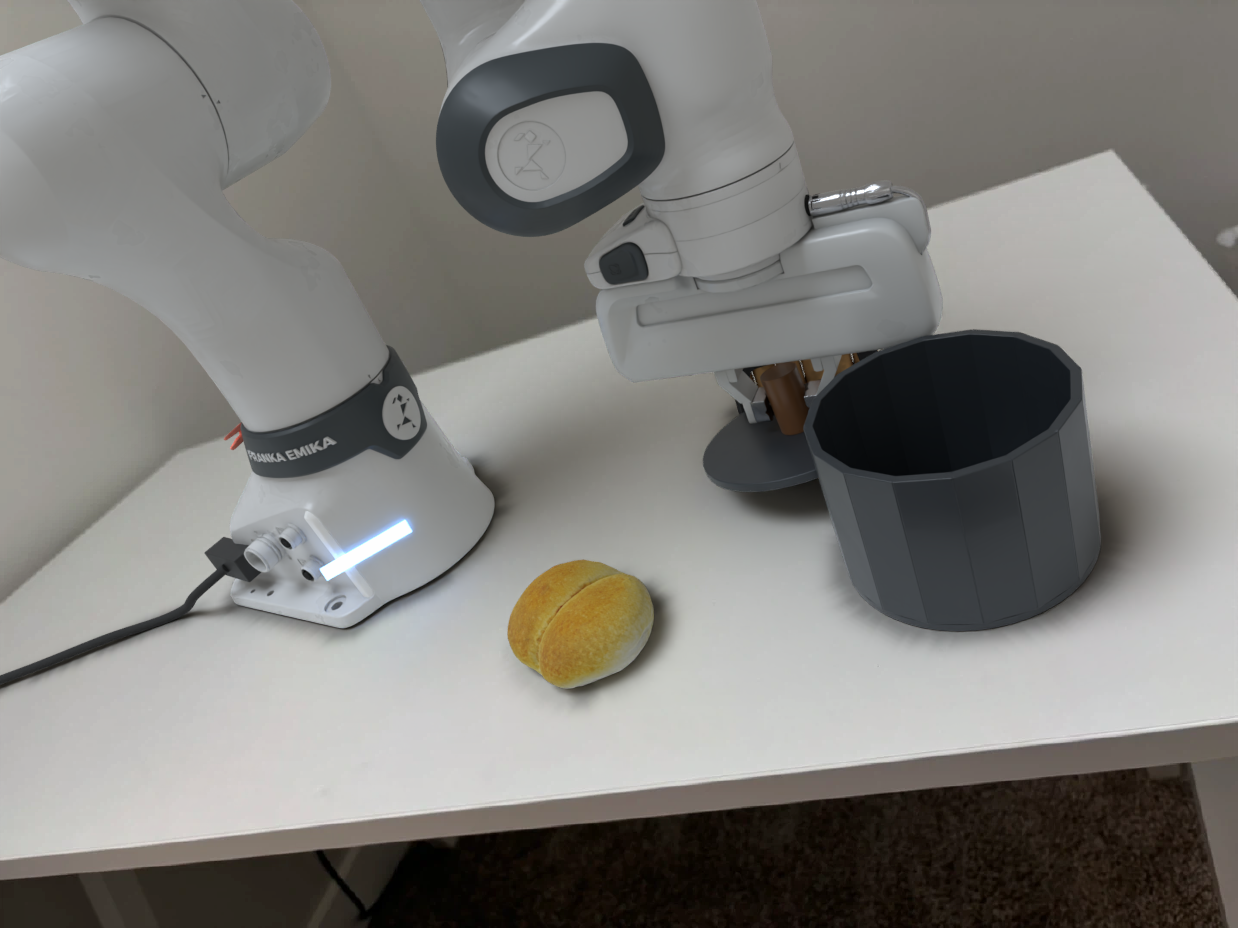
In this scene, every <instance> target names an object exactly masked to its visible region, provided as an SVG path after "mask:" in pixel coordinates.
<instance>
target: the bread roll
mask: <svg viewBox="0 0 1238 928" xmlns="http://www.w3.org/2000/svg"><path fill="white" fill-rule="evenodd" d="M654 609H655V607H654V605H653V602H652V597H651V594H650V593H649V591H648V588H647V586H646V585H645V584H644V583H643V581H642V580H640V578H638V577H636V576H634V575H632V574H628V573H625V572H623V571H621V570H619V569H616V568H615V567H612V566H610V565H608V564H606V563H603V562H601V561H595V560H594V561H593V560H588V559H575V560H572V561H567V562H562V563H558V564H556V565H553V566H552V567H551V568H549V569H547V570H545V571H544V572H542V573H541V574H539V575H538V576H537V577H535V578H534V579H533V580H532V581H531V582H530V584H528V586H527V587H526V588H525V589H524V590H523V592H522V594H521V595H520V596H519V598H518V599H517V601H516V603H515V604H514V606H513V608H512V609H511V613H510V615H509V619H508V623H507V640H508V644H509V646H510V649H511V651H512V653H513V655H514V656H515V658H516V659H517V660H518V661H519V662H520V663H521V664H523V665H524V666H526V667H528V668H529V669H531V670H534V671H535V672H536V673H538V674H539V675H540V676H541V677H543V679H544V680H545V682H547V683H549V684H551V685H552V686H554V687H557V688H560V689H566V690H567V689H569V690H570V689H574V688H577V687H583V686H586V685H589V684H592V683H594V682H597V681H599V680H602V679H604V678H607V677H609V676H611V675H614V674H616V673H618V672H621V671H623V670H624V669H625V668H626V667H628V666H629V665H630V664H631V663H632V662H633V661H635V660H636V659H637V657H638V656H639V654H640V653H641V651H643V649H644V647H645V646H646V645H647V642H648V641H649V638H650V636H651V633H652V629H653V626H654V619H655V610H654Z"/></svg>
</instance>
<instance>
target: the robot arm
mask: <svg viewBox="0 0 1238 928" xmlns="http://www.w3.org/2000/svg"><path fill="white" fill-rule="evenodd" d="M66 1H67V2H68V4H69V5H70V6H71V8H72V9H73V11H74V12H75V13H76V15H77V16H78V19H79V20H80V22H81V23H82V24H80V25H78V26H75V27H72V28H69V29H67V30H65V31H61V32H60V33H56V34H53V35H52V36H49V37H46V38H43V39H41V40H38V41H35V42H33V43H29V44H28V45H25V46H22V47H19V48H17V49H13V50H11V51H9V52H6V53H3V54H1V55H0V259H2V260H4V261H7V262H8V263H12V264H14V265H16V266H19V267H21V268H25V269H29V270H33V271H37V272H43V273H50V274H59V275H65V276H69V277H74V278H78V279H82V280H85V281H88V282H90V283H95V284H98V285H99V286H102V287H105V288H107V289H110V290H112V291H113V292H116V293H118V294H119V295H121V296H123V297H124V298H125V297H126V298H127V299H129V300H131V301H132V302H134V303H135V304H137V305H139V306H140V307H142V308H143V309H145V310H146V311H148V312H149V313H151V315H153V316H154V317H156V318H157V319H158V320H160V321H161V322H162V323H163V324H164V326H166V327H167V328H169V330H170V331H172V333H173V334H174V335H175V336H176V337H177V338H178V339H179V340H180V341H181V342H182V343H183V345H185V347H186V349H187V350H188V351H189V352H190V353H191V355H192V356H193V357H194V359H195V360H196V361H197V362H198V363H199V365H200V366H201V367H202V369H203V370H204V371H205V372H206V374H207V376H209V378H210V379H211V381H212V382H213V383H214V384H215V386H216V388H217V389H218V390H219V392H220V393H221V394H222V396H223V398H224V399H225V401H226V402H227V403H228V404H229V406H230V407H231V409H232V410H233V412H234V413H235V415H236V416H237V417H238V419H239V420H240V423H238V424H237V425H236V426H235V427H233V429H232V430H231V431H230V432H229V433H227V434H226V435H225V436H224V438H223V440H224V441H228V440H230V439H231V438H232V437H233V436H235V435H236V434H237V433H238V435H237V436H236V438H234V441H233V442H232V444H231V445H230V447H229V450H231V451H234V450H236V449H237V448H238V447H239V446H240V445H241V444H243V445H244V448H245V452H246V455H247V458H248V462H249V465H250V468H251V473H250V475H249V477H248V479H247V482H246V484H245V485H244V488H243V491H242V492H241V494H240V497H239V499H238V502H237V503H236V505H235V507H234V509H233V511H232V514H231V517H230V519H229V520H230V521H229V534H230V537H226V536H223V537H221V538H220V539H219V540H218V541H216V542H215V543H214V544H213V545H211V546H210V547H209V548H208V549H207V550H206V551H205V552H204V555H205V556H206V558H207V559H208V560H209V561H210V563H211V564H212V565H213V567H214V568H215V569H216V570H214V571H213V572H212V573H211V574H210V575H208V577H206V578H205V579H204V580H203V581H201V582H200V584H198V585H197V587H195V588H194V589H193V590H192V591H191V593H190V594H189V595H188V596H187V597H186V599H185V600H184V602H183V604H182V605H180V606H178V607H177V608H175V609H173V610H171V611H168V612H167V613H164V614H161V615H159V616H157V617H154V618H151V619H148V620H144V621H141V622H138V623H136V624H131V625H129V626H125V627H122V628H120V629H116V630H114V631H110V632H108V633H105V634H102V635H99V636H97V637H94V638H91V639H90V640H87V641H85V642H81V643H80V644H77V645H74V646H72V647H70V648H67V649H64V650H63V651H60V652H58V653H55V654H52V655H50V656H47V657H45V658H42V659H39V660H37V661H34V662H32V663H29V664H26V665H24V666H22V667H19V668H16V669H13V670H11V671H8V672H5V673H3V674H0V685H3V684H6V683H9V682H12V681H14V680H18V679H19V678H22V677H26V676H29V675H30V674H33V673H36V672H38V671H41V670H44V669H47V668H49V667H52V666H53V665H56V664H59V663H61V662H63V661H66V660H69V659H71V658H73V657H76V656H78V655H81V654H83V653H85V652H89V651H91V650H93V649H96V648H98V647H101V646H104V645H106V644H109V643H112V642H115V641H117V640H120V639H124V638H126V637H129V636H133V635H136V634H139V633H142V632H145V631H148V630H151V629H155V628H157V627H160V626H163V625H165V624H167V623H171V622H173V621H175V620H177V619H179V618H181V617H183V616H185V615H187V614H188V613H189V612H190V611H192V609H193V608H194V607H195V605H196V603H197V601H198V600H199V599H200V598H201V597H202V596H203V595H204V594H205V593H206V592H207V591H209V590H210V589H211V588H212V587H213V586H214V585H215V584H217V583H218V582H219V581H220V580H221V579H222V578H224V577H225V576H226V577H230V578H234V580H233V581H232V585H231V587H230V592H229V595H230V597H231V599H232V600H233V602H234V604H236V605H238V606H241V607H246V608H250V609H254V610H259V611H262V612H268V613H272V614H277V615H279V616H285V617H290V618H293V619H298V620H303V621H306V622H312V623H316V624H320V625H325V626H329V627H333V628H337V629H346V628H350V627H352V626H354V625H356V624H358V623H359V622H361V621H363V620H364V619H366V618H367V617H368V616H370V615H371V614H373V613H375V612H376V611H377V610H378V609H379V608H381V607H383V605H385V604H387V603H389V602H391V601H393V600H395V599H397V598H399V597H401V596H403V595H406V594H408V593H410V592H412V591H414V590H416V589H419V588H420V587H422V586H424V585H426V584H427V583H429V582H431V581H433V580H434V579H436V578H438V577H439V576H441V575H442V574H444V573H445V572H446V571H448V570H449V569H450V568H452V567H453V566H454V565H455V564H457V563H458V562H459V561H460V560H461V559H463V558H464V556H466V554H468V553H469V552H470V551H471V549H472V548H473V547H474V546H475V545H476V544H477V543H478V542H479V541H480V540H481V538H482V536H483V535H484V533H485V532H486V530H487V529H488V527H489V525H490V524H491V521H492V519H493V516H494V513H495V505H496V504H495V498H494V495H493V493H492V491H491V489H489V488H488V487H487V485H486V484H484V482H483V481H482V480H481V479H480V478H479V477H478V476H477V475H476V473H475V469H474V467H473V465H472V463H471V462H470V460H469V459H468V458H467V457H466V456H464V455H461V454H460V453H459V452H458V451H457V449H456V448H455V446H454V445H453V443H452V442H451V440H450V439H449V438H448V437H447V435H446V433H445V432H444V431H443V429H442V428H441V426H440V425H439V423H438V422H437V421H436V419H435V418H434V416H433V415H432V413H431V412H430V411H429V410H428V408H427V406H426V405H425V404H424V403H423V401H422V400H421V398H420V396H419V391H418V387H417V385H416V383H415V382H414V380H413V378H412V376H411V375H410V372H409V371H408V367H407V365H406V364H405V361H404V360H403V359H402V358H400V355H399V354H398V352H397V351H396V349H395V348H394V347H393V346H391V345H389V344H386V343H385V341H384V338H383V337H382V335H381V334H380V332H379V330H378V328H377V326H376V324H375V322H374V321H373V319H372V316H371V315H370V314H369V311H368V310H367V308H366V305H365V304H364V302H363V301H362V299H361V297H360V295H359V294H358V292H357V290H356V288H355V287H354V284H353V283H352V281H351V279H350V277H349V276H348V274H347V272H346V270H345V268H344V266H343V264H342V263H341V261H340V260H338V258H336V256H335V255H334V254H333V253H331V252H330V251H329V250H327V249H325V248H324V247H322V246H321V245H318V244H315V243H313V242H310V241H307V240H301V239H296V238H285V237H267V236H265V235H264V234H261V233H260V232H258V231H257V230H255V228H253V226H251V225H250V224H249V223H248V222H246V221H245V219H244V218H243V217H242V216H241V215H240V214H239V213H238V212H237V210H235V208H234V207H233V206H232V205H231V203H230V202H229V200H228V199H227V197H226V196H225V194H224V191H225V190H227V188H230V187H231V186H233V185H235V184H237V183H238V182H240V181H242V180H243V179H245V178H246V177H248V176H250V175H252V174H254V173H255V172H257V171H258V170H260V169H262V168H263V167H265V166H267V165H268V164H271V163H272V162H274V161H275V160H277V159H279V158H280V157H282V156H283V155H285V154H286V153H287V152H289V150H290V149H291V148H292V147H293V146H294V145H295V144H296V143H297V142H298V141H299V140H301V138H302V137H303V136H304V135H305V134H306V133H307V132H308V130H309V129H310V128H311V127H312V126H313V125H314V124H315V122H317V121H318V119H319V118H320V117H321V116H322V114H323V113H324V112H325V110H326V108H327V106H328V103H329V100H330V97H331V91H332V74H331V67H330V63H329V58H328V55H327V51H326V49H325V46H324V43H323V41H322V38H321V37H320V35H319V33H318V31H317V29H316V27H315V25H314V24H313V23H312V21H311V20H310V18H309V17H308V15H307V14H306V13H305V12H304V11H303V9H302V8H300V6H299V5H298V4H297V3H296V2H295V1H294V0H66ZM419 3H420V4H421V6H422V9H423V10H424V11H425V13H426V15H427V17H428V19H429V21H430V23H431V25H432V27H433V29H434V31H435V33H436V36H437V37H438V41H439V45H440V47H441V50H442V55H443V60H444V64H445V73H446V85H447V88H446V90H445V94H444V96H443V99H442V102H441V105H440V110H439V114H438V118H437V124H436V131H435V150H436V157H437V162H438V163H437V164H438V166H439V170H440V173H441V175H442V178H443V180H444V182H445V184H446V186H447V188H448V191H449V192H450V194H451V195H452V196H453V198H454V199H455V201H456V202H457V203H458V204H459V205H460V206H461V207H462V208H463V210H465V211H466V212H467V213H468V214H469V215H470V216H471V217H473V218H474V219H475V220H476V221H478V222H479V223H481V224H483V225H484V226H485V227H488V228H490V229H492V230H494V231H496V232H499V233H503V234H506V235H509V236H514V237H520V238H521V237H523V238H539V237H545V236H550V235H553V234H554V235H555V234H557V233H560V232H562V231H565V230H567V229H569V228H571V227H573V226H575V225H577V224H579V223H580V222H582V221H584V220H585V219H588V218H589V217H591V216H592V215H594V214H596V213H598V212H599V211H601V210H602V209H604V208H606V207H607V206H609V205H611V204H613V203H614V202H616V201H617V200H619V199H620V198H622V197H623V196H625V195H626V194H628V193H629V192H630V191H632V190H633V189H635V188H638V191H639V194H640V197H641V199H642V202H640V203H639V204H638V205H636V206H634V207H633V208H631V209H630V210H628V211H627V212H625V213H624V214H623V215H621V217H619V219H617V220H616V221H615V222H614V223H613V224H612V225H611V226H610V228H608V229H607V230H606V231H605V232H604V233H603V235H602V236H601V237H600V239H599V240H598V241H597V243H595V245H594V246H593V248H592V249H591V251H590V253H589V254H588V255H587V257H586V259H585V260H584V264H583V267H584V272H585V274H586V276H587V278H588V280H589V282H590V284H591V285H592V286H593V287H594V288H596V289H598V290H599V292H598V294H597V296H596V299H595V313H596V314H595V315H596V318H597V322H598V325H599V329H600V333H601V336H602V339H603V342H604V345H605V347H606V350H607V353H608V355H609V358H610V361H611V363H612V365H613V367H614V369H615V370H616V372H617V373H618V374H619V375H621V376H622V377H624V378H625V379H626V380H628V381H629V382H631V383H636V384H637V383H644V382H650V381H658V380H659V381H660V380H667V379H674V378H680V377H687V376H695V375H702V374H711V373H713V374H714V377H715V380H716V383H717V385H718V386H719V387H720V388H721V389H722V390H724V391H725V392H726V393H727V394H728V395H729V396H730V397H732V399H734V400H735V399H736V400H737V401H738V402H739V403H740V404H743V407H744V410H745V412H746V415H747V418H748V421H749V423H751V424H752V423H762V422H770V421H773V419H774V418H773V416H774V415H775V414H774V412H773V410H772V407H771V405H770V402H769V400H768V397H767V395H766V392H765V390H764V387H758V386H757V384H756V382H755V383H754V382H753V381H752V380H751V379H750V378H749V377H748V376H747V375H746V374H745V373H744V372H743V371H742V370H743V368H748V367H755V366H763V365H770V364H775V365H776V364H777V363H785V362H792V361H800V362H801V360H807V359H811V362H812V366H813V369H814V371H816V372H818V371H822V370H823V369H824V373H823V376H822V379H821V380H815V381H809V384H808V386H807V388H808V390H806V392H805V394H804V400H805V403H806V406H807V407H809V409H810V406H811V403H812V400H813V399H814V398H815V397H816V396H817V395H818V394H819V393H820V392H821V391H822V390H823V389H824V388H825V387H826V386H827V385H828V384H829V383H830V382H831V381H832V380H833V378H834V376H835V374H836V371H837V368H838V365H839V362H840V359H841V356H842V355H844V354H851V355H852V353H859V352H866V351H873V350H878V351H880V350H883V349H886V348H889V347H892V346H895V345H898V344H901V343H904V342H907V341H910V340H913V339H916V338H919V337H923V336H929V335H935V332H936V331H937V329H938V328H939V326H940V323H941V319H942V317H943V316H942V315H943V308H944V299H943V294H942V289H941V285H940V281H939V278H938V275H937V272H936V269H935V266H934V263H933V259H932V258H931V255H930V252H929V249H928V246H929V244H930V241H931V237H932V227H931V222H930V218H929V212H928V208H927V205H926V202H925V201H924V199H923V198H922V196H921V194H920V193H918V192H917V191H915V190H914V189H912V188H910V187H909V186H908V187H907V186H904V185H899V184H895V185H893V182H892V181H891V180H890V179H885V180H884V179H882V180H875V181H871V182H867V183H865V184H864V185H861V186H857V187H852V188H841V189H835V190H830V191H829V190H828V191H825V192H821V193H815V194H811V195H810V192H809V188H808V185H807V182H806V178H805V173H804V169H803V165H802V162H801V158H800V155H799V151H798V147H797V144H796V140H795V136H794V132H793V130H792V127H791V126H790V123H789V122H788V120H787V119H786V117H785V116H784V114H783V112H782V110H781V109H780V106H779V104H778V100H777V98H776V94H775V89H774V82H773V80H774V79H773V77H774V76H773V75H774V74H773V73H774V67H773V66H774V61H773V54H772V50H771V46H770V42H769V39H768V34H767V31H766V27H765V23H764V20H763V16H762V13H761V10H760V6H759V4H758V1H757V0H419ZM894 194H899V195H898V196H897V195H896V196H894ZM808 412H809V410H808Z"/></svg>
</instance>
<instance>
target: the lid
mask: <svg viewBox="0 0 1238 928" xmlns="http://www.w3.org/2000/svg"><path fill="white" fill-rule="evenodd" d="M834 377H835V376H834ZM760 380H761V383H762V385H763V387H764V390H765V392H766V395H767V397H768V400H769V402H770V405H771V407H772V410H773V412H774V414H775V415H774V416H773V418H774V419H773V421H770V422H762V423H752V424H751V423H749V421H748V418H747V415H746V412H743V413H741V414H740V415H739V414H738V415H737V416H736V417H734V418H733V419H732V420H730V421H728V423H726V425H724V426H723V427H722V428H721V429H720V430H719V431H718V432H717V433H716V434H715V435H714V436H713V437H712V438H711V440H710V442H709V443H708V444H707V446H706V448H705V450H704V452H703V457H702V467H703V470H704V472H705V475H706V476H707V477H706V478H708V479H709V481H710V482H711V483H713V484H714V485H716V486H717V487H720V488H721V489H724V490H728V491H732V492H739V493H740V492H741V493H758V492H768V491H774V490H775V491H776V490H781V489H786V488H790V487H794V486H797V485H801V484H804V483H808V482H812V481H813V480H816V479H818V475H817V472H816V469H815V466H814V462H813V459H812V456H811V453H810V449H809V446H808V443H807V440H806V436H805V433H804V430H803V427H804V424H805V421H806V418H807V415H808V410H809V407H807V406H806V403H805V400H804V394H805V392H806V390H808V388H807V386H808V384H809V383H805V384H804V383H803V380H802V378H801V375H800V373H799V370H798V367H797V365H796V363H794V362H785V363H781V364H778V365H776V364H775V366H773V367H771V368H769V369H767V370H766V371H765V372H763V373H762V375H761V376H760ZM820 380H821V379H820Z"/></svg>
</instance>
